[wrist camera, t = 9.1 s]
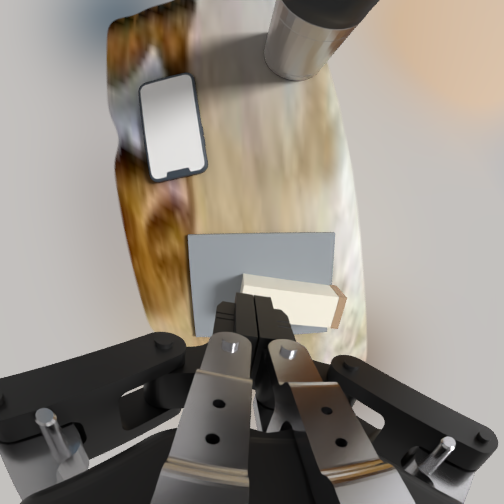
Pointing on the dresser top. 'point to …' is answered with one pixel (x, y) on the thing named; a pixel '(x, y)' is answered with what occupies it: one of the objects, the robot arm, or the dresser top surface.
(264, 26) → the dresser top surface
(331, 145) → the dresser top surface
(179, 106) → the dark grey smartphone
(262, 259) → the rubber mat
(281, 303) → the cream block
